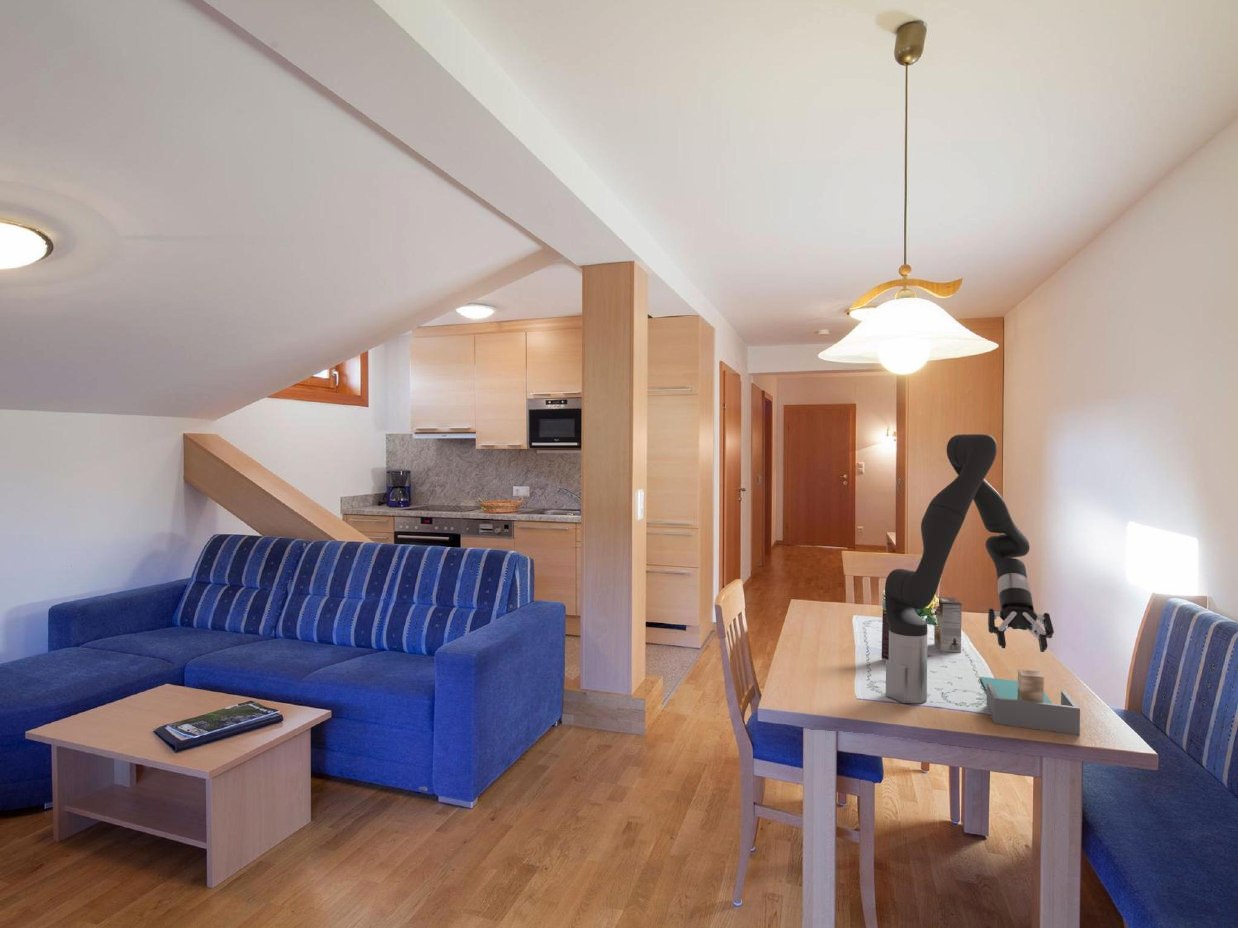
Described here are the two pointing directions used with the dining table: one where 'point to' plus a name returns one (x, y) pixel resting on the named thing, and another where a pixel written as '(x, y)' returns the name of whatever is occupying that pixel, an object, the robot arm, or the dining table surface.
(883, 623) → the supplement box
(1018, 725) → the low gray barrier wall
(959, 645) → the coffee box
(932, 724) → the dining table surface
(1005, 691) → the teal mat
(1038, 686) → the maple block
